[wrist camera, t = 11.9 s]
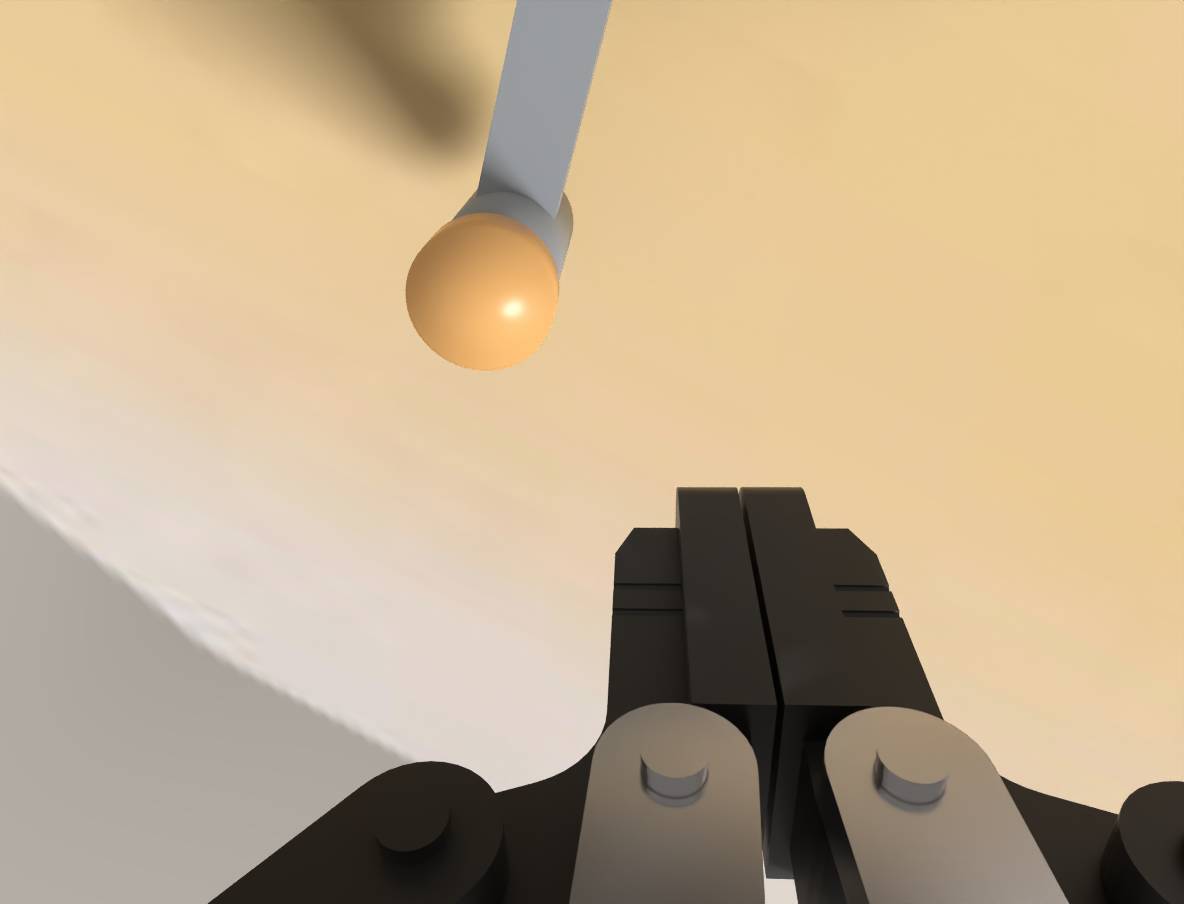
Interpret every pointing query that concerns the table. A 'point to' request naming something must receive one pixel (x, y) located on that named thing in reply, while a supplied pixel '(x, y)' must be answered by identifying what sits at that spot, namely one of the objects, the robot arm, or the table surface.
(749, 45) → the table surface
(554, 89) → the orange knob lever
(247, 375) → the table surface
